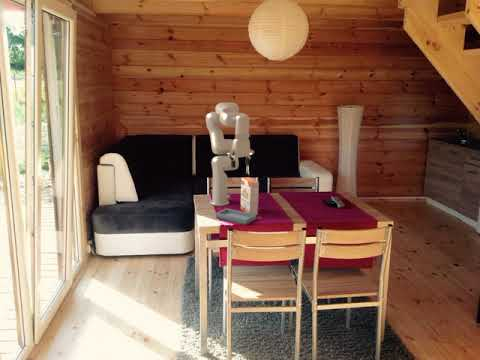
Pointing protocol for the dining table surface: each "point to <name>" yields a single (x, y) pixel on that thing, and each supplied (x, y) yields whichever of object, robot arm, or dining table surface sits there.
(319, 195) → the dining table surface
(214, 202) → the robot arm
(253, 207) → the cracker box
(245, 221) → the tray
